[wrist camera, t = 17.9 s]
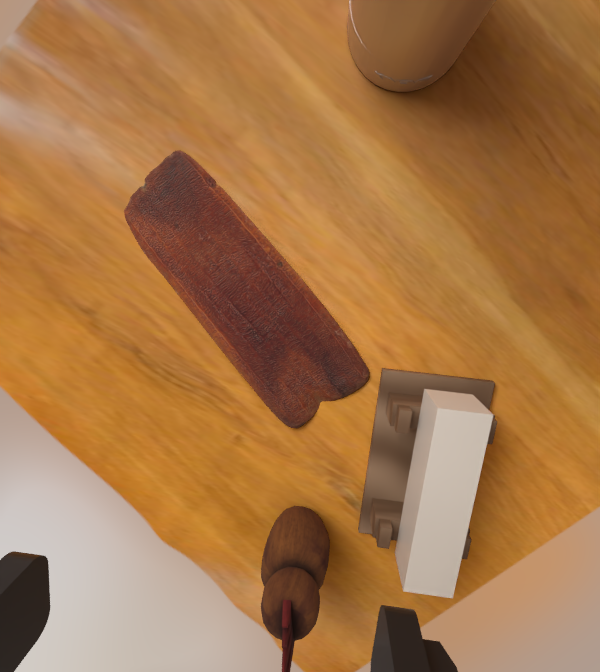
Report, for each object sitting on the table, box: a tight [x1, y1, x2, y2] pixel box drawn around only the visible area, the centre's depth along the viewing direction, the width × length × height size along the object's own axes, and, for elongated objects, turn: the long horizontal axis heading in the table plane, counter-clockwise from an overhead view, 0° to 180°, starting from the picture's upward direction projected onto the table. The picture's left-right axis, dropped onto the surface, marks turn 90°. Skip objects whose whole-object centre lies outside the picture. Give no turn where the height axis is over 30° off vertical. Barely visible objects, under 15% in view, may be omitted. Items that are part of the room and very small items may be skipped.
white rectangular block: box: [395, 389, 493, 598], centre depth 33 cm, size 16×4×4 cm, turn 174°
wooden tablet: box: [124, 151, 369, 428], centre depth 36 cm, size 27×10×2 cm, turn 38°
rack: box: [358, 368, 497, 559], centre depth 36 cm, size 17×10×5 cm, turn 174°
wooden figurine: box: [261, 506, 330, 672], centre depth 33 cm, size 7×6×15 cm
